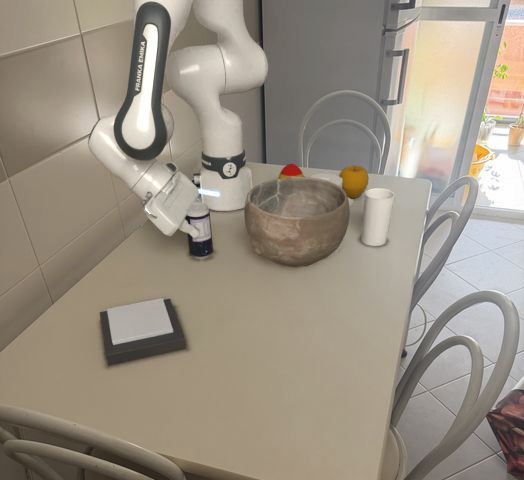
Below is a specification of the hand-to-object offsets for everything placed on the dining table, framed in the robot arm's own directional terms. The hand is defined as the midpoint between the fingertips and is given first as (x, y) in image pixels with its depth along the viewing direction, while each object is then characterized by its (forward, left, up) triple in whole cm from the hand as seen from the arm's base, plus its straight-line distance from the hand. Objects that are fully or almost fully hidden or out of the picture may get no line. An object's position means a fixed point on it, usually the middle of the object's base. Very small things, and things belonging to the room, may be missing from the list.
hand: (201, 227), depth 114 cm
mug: (+7, +42, -7) cm, 43 cm away
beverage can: (0, -1, -7) cm, 7 cm away
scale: (+27, -19, -7) cm, 33 cm away
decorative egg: (-23, +31, -7) cm, 40 cm away
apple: (-18, +48, -7) cm, 52 cm away
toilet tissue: (-11, +37, -7) cm, 40 cm away
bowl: (+8, +20, -7) cm, 23 cm away
